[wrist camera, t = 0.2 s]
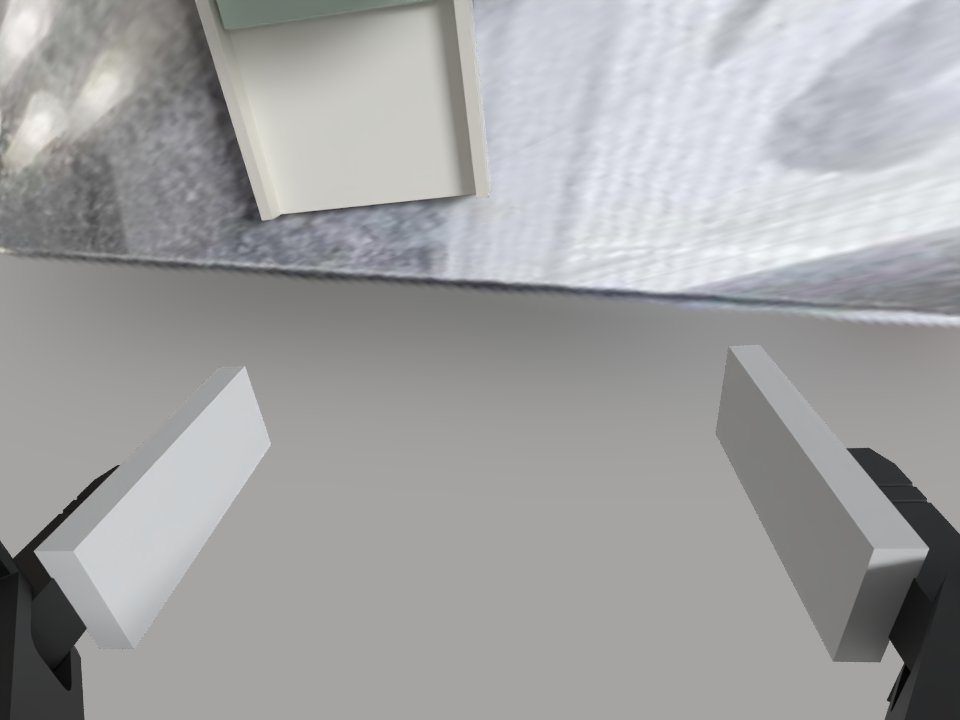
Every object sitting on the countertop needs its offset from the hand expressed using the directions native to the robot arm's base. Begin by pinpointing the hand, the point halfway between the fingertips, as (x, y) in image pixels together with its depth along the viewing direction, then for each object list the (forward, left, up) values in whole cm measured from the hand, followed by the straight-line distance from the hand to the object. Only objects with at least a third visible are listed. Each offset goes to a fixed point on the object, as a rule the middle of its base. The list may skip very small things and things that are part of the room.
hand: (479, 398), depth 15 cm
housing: (-13, -9, -28) cm, 32 cm away
